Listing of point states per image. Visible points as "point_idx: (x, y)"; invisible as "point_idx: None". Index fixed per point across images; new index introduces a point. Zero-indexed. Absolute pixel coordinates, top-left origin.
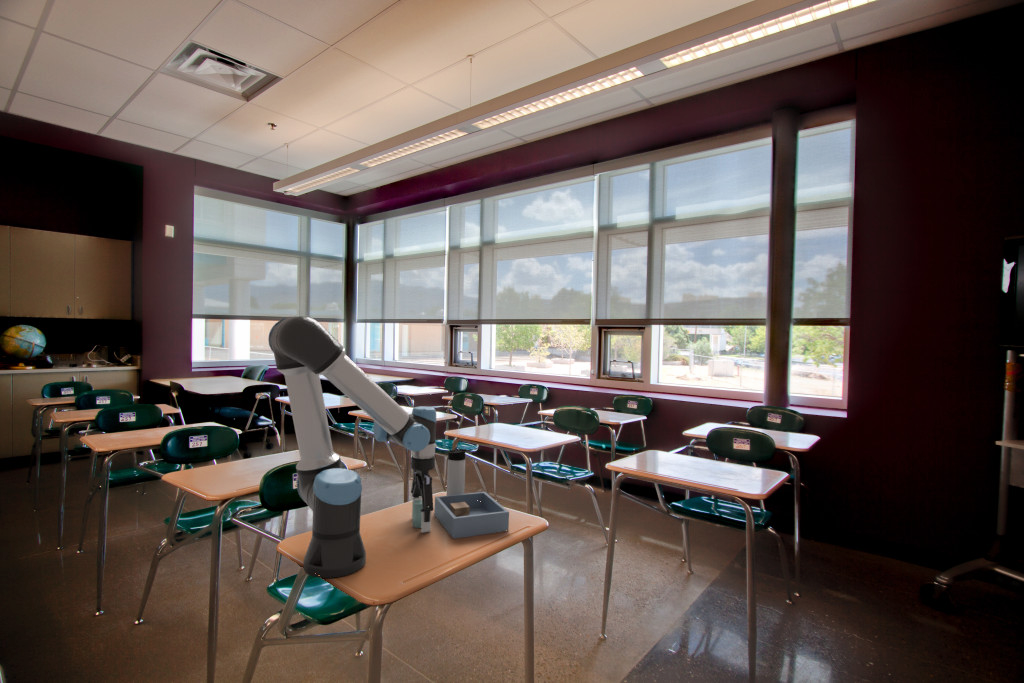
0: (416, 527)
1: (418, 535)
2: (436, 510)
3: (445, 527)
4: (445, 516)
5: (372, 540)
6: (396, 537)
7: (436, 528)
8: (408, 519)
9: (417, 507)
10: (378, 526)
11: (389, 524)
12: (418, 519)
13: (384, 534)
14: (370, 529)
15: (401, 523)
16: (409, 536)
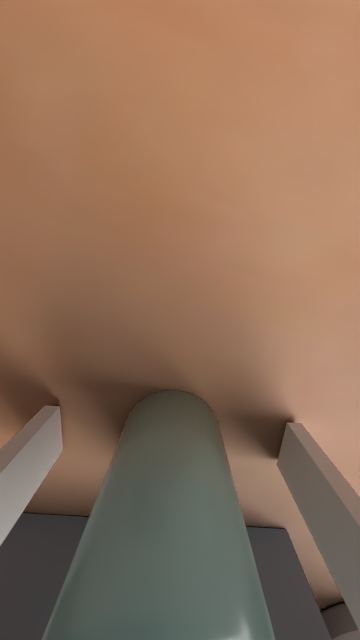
0: (139, 402)
1: (21, 378)
2: (260, 579)
3: (68, 524)
4: (37, 619)
5: (3, 30)
6: (21, 243)
7: (93, 484)
8: (291, 397)
9: (64, 600)
10: (274, 167)
11: (271, 261)
12: (116, 453)
13: (99, 171)
14: (244, 78)
15: (249, 341)
16: (18, 327)
